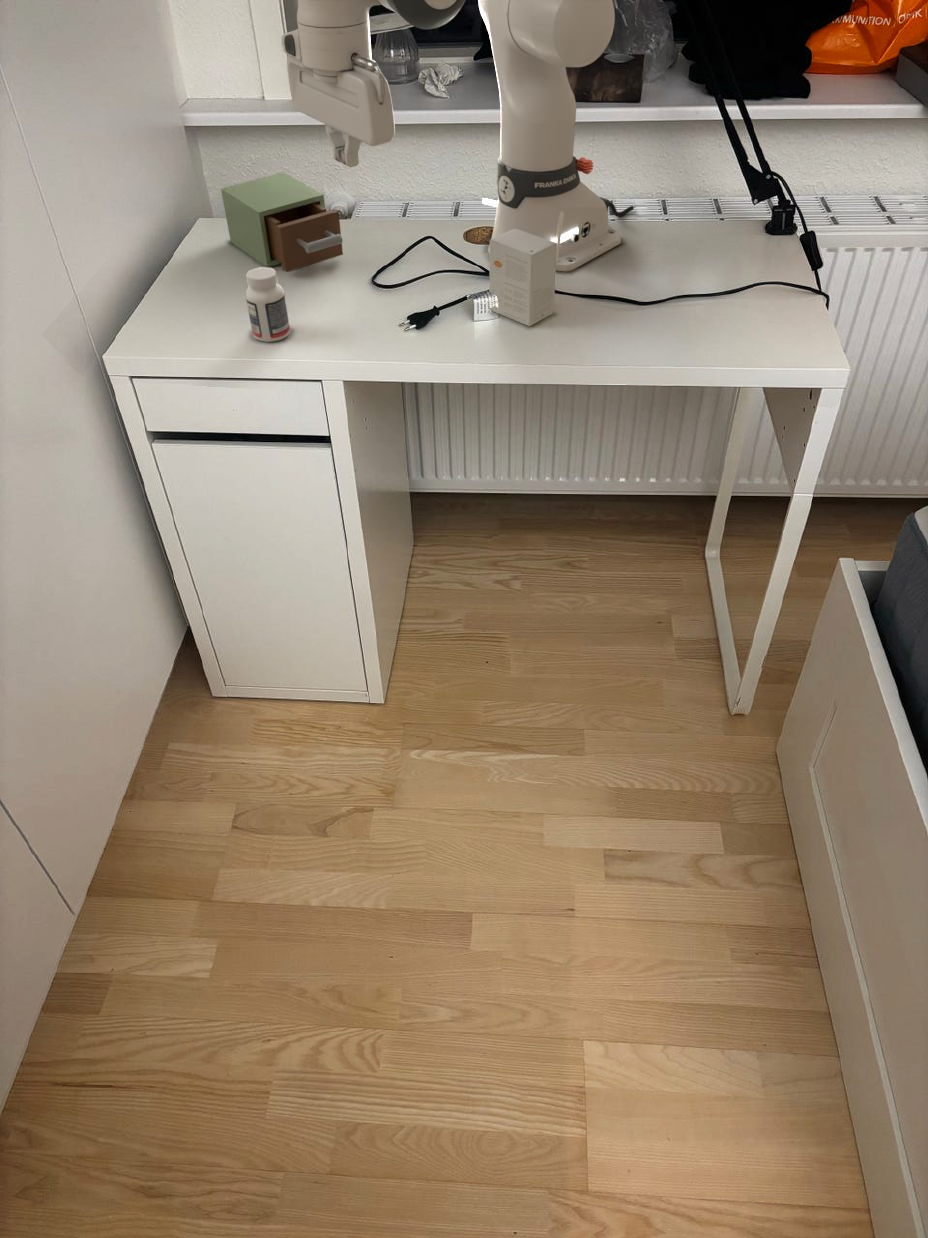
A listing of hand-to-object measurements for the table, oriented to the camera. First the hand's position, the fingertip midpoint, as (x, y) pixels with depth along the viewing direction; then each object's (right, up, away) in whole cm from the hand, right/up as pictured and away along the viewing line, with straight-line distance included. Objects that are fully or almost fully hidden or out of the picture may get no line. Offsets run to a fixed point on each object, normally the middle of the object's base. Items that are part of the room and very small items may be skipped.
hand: (346, 162), depth 125 cm
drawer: (-10, -4, +22) cm, 24 cm away
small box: (+24, -17, +10) cm, 31 cm away
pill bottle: (-11, -22, +6) cm, 25 cm away
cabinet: (-15, 0, +27) cm, 31 cm away
